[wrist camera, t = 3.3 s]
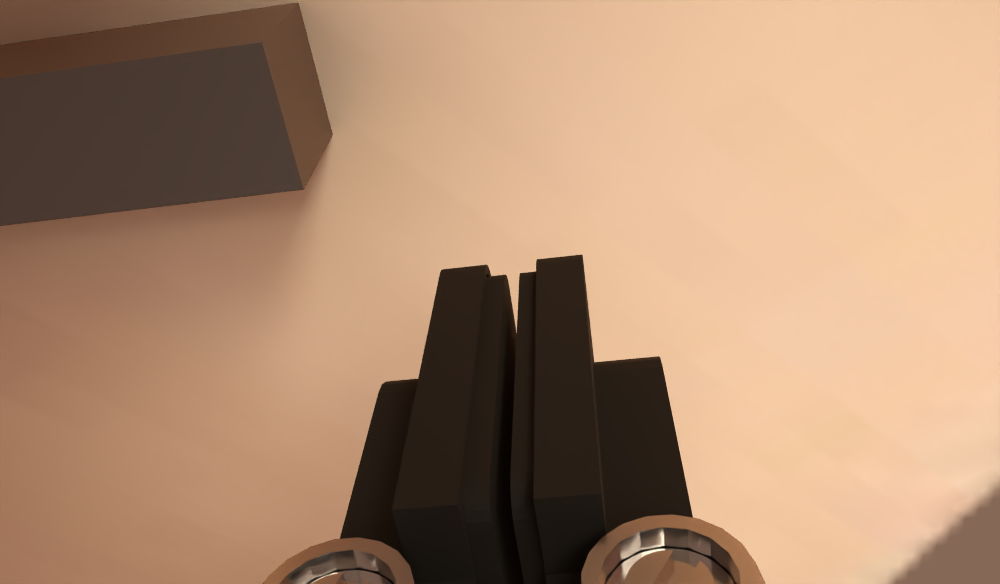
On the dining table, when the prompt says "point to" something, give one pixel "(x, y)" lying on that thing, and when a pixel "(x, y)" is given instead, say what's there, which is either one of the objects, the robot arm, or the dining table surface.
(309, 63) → the dark grey long bar
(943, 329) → the dining table surface
